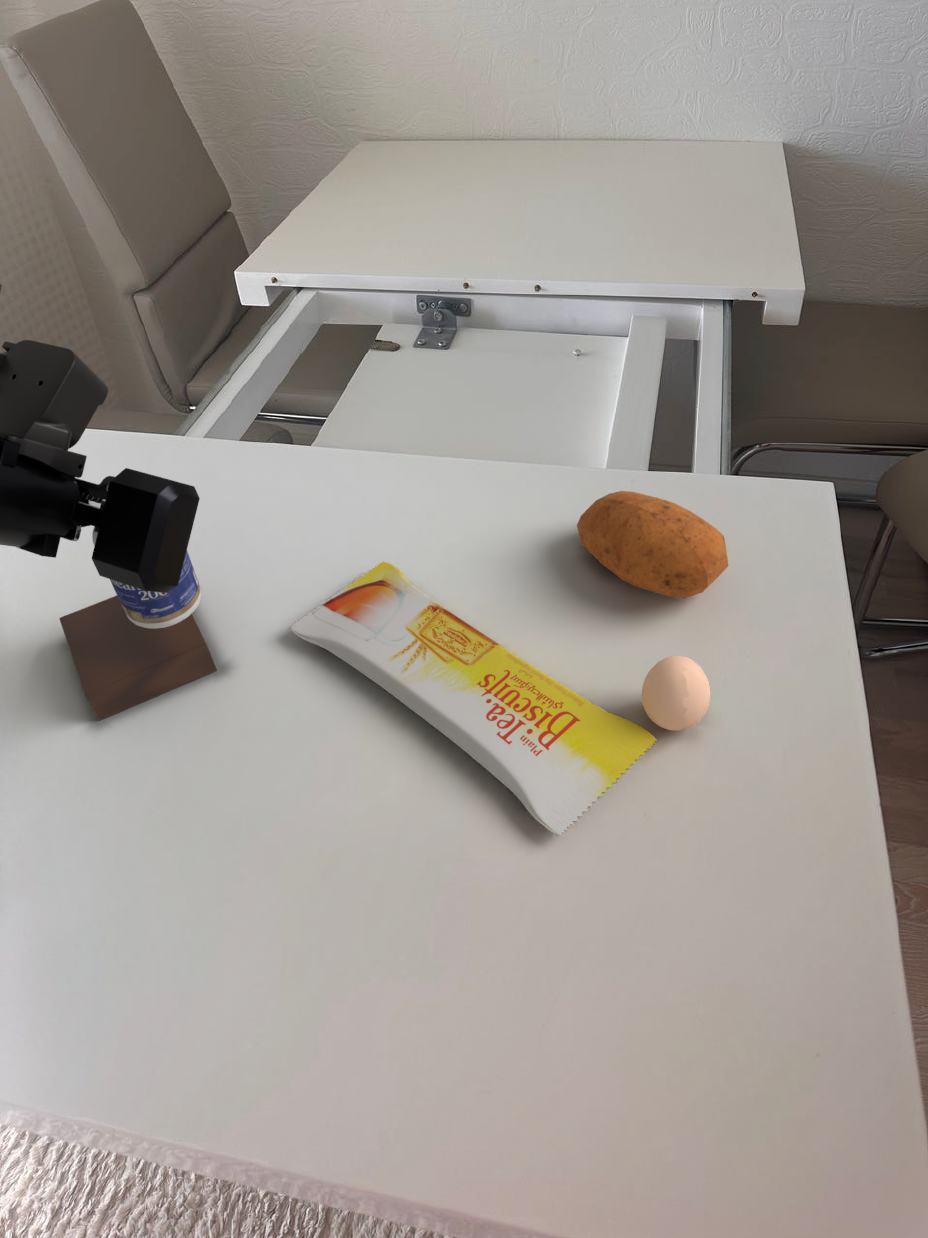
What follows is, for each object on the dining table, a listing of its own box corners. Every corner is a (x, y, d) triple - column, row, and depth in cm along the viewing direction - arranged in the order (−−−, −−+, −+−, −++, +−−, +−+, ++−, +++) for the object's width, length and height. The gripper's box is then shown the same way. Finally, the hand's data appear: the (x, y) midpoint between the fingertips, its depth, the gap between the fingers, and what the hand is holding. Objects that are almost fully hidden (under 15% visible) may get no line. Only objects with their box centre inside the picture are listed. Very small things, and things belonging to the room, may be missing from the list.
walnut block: (99, 721, 69) (84, 694, 67) (73, 644, 75) (58, 617, 72) (217, 670, 71) (206, 643, 69) (183, 600, 77) (172, 573, 75)
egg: (701, 693, 66) (710, 637, 62) (710, 745, 63) (719, 690, 59) (636, 694, 66) (641, 639, 62) (642, 746, 63) (647, 691, 59)
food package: (661, 728, 61) (559, 829, 57) (658, 749, 63) (559, 848, 59) (382, 548, 76) (283, 617, 71) (386, 569, 78) (290, 637, 73)
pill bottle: (113, 627, 66) (60, 518, 59) (146, 575, 69) (100, 466, 62) (185, 635, 65) (139, 524, 58) (215, 581, 68) (175, 471, 61)
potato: (680, 637, 70) (672, 569, 65) (566, 561, 78) (551, 496, 73) (747, 583, 72) (745, 513, 67) (629, 515, 80) (619, 448, 75)
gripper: (118, 357, 45) (295, 429, 59) (-144, 299, 51) (72, 377, 66) (63, 585, 45) (251, 602, 60) (-188, 499, 52) (36, 532, 67)
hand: (148, 520), depth 63 cm, fingers closed on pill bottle, 5 cm apart
